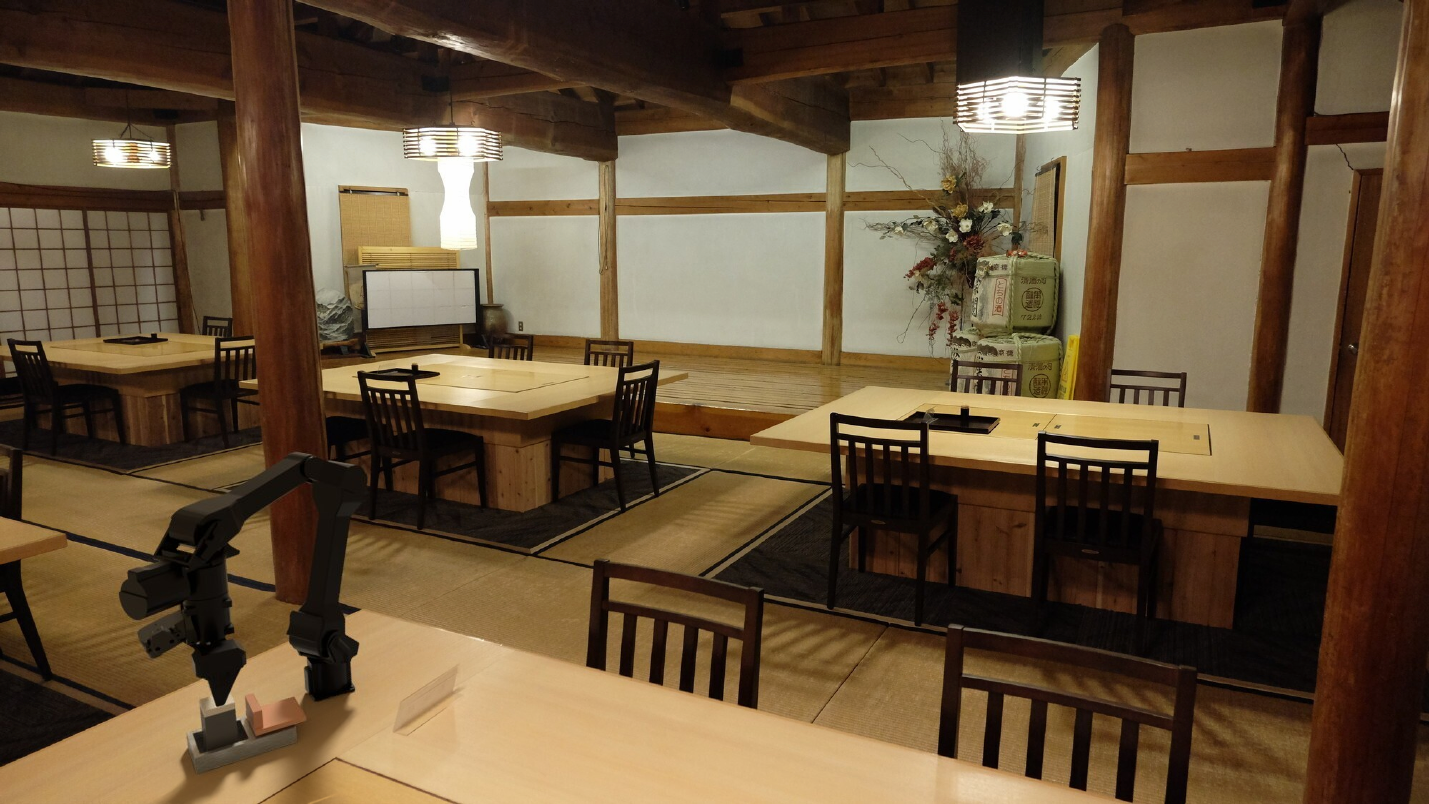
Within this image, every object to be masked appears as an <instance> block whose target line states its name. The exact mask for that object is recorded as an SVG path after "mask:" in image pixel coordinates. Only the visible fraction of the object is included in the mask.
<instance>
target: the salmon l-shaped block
mask: <svg viewBox="0 0 1429 804" xmlns="http://www.w3.org/2000/svg"><path fill="white" fill-rule="evenodd" d="M244 702H245V715H246V716H247V718H248V721H249V723H250V725H251V727H252V729H253V731H254V733H255V735H256V736H258V735H261V734H264V733H267V732H271V731H274V730H277V729H280V728H284V727H287V726H290V725H293V724H295V725H297V724H300V723H302V722H306V721H307V716H306V714H305V712H304V710H303V709H302V707H301V705H300V704H299V701H298V700H297V699H296V697H295V696H291V697H288V698H284V699H280V700H277V701H273V702H270V703H267V704H263V705H260V704H259V702H258V699H257V697H256V696H255V693H254V692H251V693H248V694H245V695H244Z"/></svg>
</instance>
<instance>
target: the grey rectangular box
mask: <svg viewBox="0 0 1429 804" xmlns="http://www.w3.org/2000/svg"><path fill="white" fill-rule="evenodd" d="M236 721H237V732H238V742H237V743H234V744H231V745H228V746H224V747H221V748H218V749H215V750H211V751H208V752H205V750H204V745H203V735H202V727H201V728H198V729H194V730H191V731H187V732H186V734H185V735H186V742H187V743H186V745H187V750H188V752H189V756H190V758H191V761H192V764H193V767H194V771H195V773H196V775H198V774H202V773H204V772H207V771H211V770H215V769H218V768H220V767H224V766H226V765H230V764H233V763H235V762H236V763H237V762H238V761H242V760H245V759H248V758H252V757H255V756H258V755H260V754H264V753H266V752H270V751H274V750H276V749H279V748H284V747H286V746H289V745H292V744H295V743H298V736H297V725H296V724H293V725H290V726H287V727H284V728H280V729H277V730H274V731H271V732H267V733H264V734H261V735H258V736H256V735H255V733H254V731H253V729H252V727H251V725H250V723H249V721H248V718H247V716H246V714H245V715H243V716H239V717H236Z"/></svg>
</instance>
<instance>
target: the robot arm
mask: <svg viewBox="0 0 1429 804" xmlns="http://www.w3.org/2000/svg"><path fill="white" fill-rule="evenodd" d="M368 479H369V476H368V473H367V472H366V471H365V469H364V468H363V467H362V466H360V465H357V464H351V463H345V462H341V461H334V460H326V459H322V458H320V457H318V456H317V455H316V454H315V455H314V454H309V453H303V452H298V451H294V452H291V453H288V454H287V455H285V456H284V457H283V459H282V460H280V461H278V462H277V463H275V464H273V465H271V466H270V467H268V468H266V469H264V470H263V471H262V472H260V473H258V474H257V475H255V476H253V477H252V478H250V479H248V480H247V481H245V482H243V483H241V484H240V485H238V486H236V487H235V488H233V489H231V490H230V491H228V492H226V493H224V494H221V495H219V496H214V497H210V498H205V499H200V500H198V501H194V502H193V503H190V504H188V505H185V506H183V507H180V508H179V509H178V510H176V511H175V512H174V513H173V514H171V517H170V521H169V525H168V528H167V529H166V530H165V533H164V534H163V536H162V538H161V541H159V543H158V546H157V547H156V549H155V551H154V553H153V555H152V559H153V560H155V561H156V562H154V563H151V564H148V565H144V566H138V567H133V568H130V569H129V570H127V573H126V574H127V578H126V579H125V580H124V581H123V582H122V583H121V586H120V591H119V592H118V599H119V603H120V605H121V607H122V610H123V611H124V613H125V614H126V615H127V616H128V617H129V619H130V618H131V619H132V620H134V621H141V620H144V619H147V618H150V617H152V616H154V615H157V614H160V613H162V612H165V611H167V610H169V609H172V608H175V607H177V606H178V607H179V610H176V611H174V612H171V613H169V614H168V613H167V614H166V615H164V616H162V617H160V618H159V619H156V620H154V621H153V622H150V623H149V624H147V625H144V626H143V627H142V628H141V627H140V629H139V630H138V631H137V632H136V634H137V638H138V641H139V642H140V644H141V646H142V647H143V648H144V650H145V652H146V654H147V655H148V656H149V659H151V660H154V659H157V658H160V657H161V656H163V654H165V653H167V652H169V651H170V650H172V649H174V648H176V647H177V646H179V645H181V644H182V643H183V644H185V645H187V646H189V647H191V648H192V649H193V650H194V651H193V652H192V653H191V655H190V656H191V666H192V670H193V673H194V675H195V677H196V678H198V679H203V680H205V681H207V684H208V688H209V690H210V693H211V696H213V699H214V702H215V705H216V707H219V706H223V705H225V703H226V701H227V698H228V696H229V694H230V693H231V692H232V688H233V687H234V684H235V682H236V679H237V677H238V676H239V674H240V672H241V670H242V669H243V668H244V667H245V666H247V652H246V650H245V647H244V646H243V644H242V642H240V641H238V640H237V639H235V638H230V639H227V637H226V636H229V635H233V634H236V633H235V626H234V623H233V622H232V616H231V608H233V600H232V598H231V596H230V593H229V579H228V569H227V559H230V558H233V557H236V556H238V555H240V553H241V550H240V549H238V548H236V547H234V546H232V545H231V544H230V542H231V541H232V540H233V539H234V538H235V537H236V536H238V535H239V534H240V532H241V530H242V528H243V526H244V525H245V522H246V521H248V520H249V519H251V517H252V516H254V515H256V514H258V513H259V512H260V511H262V510H264V509H265V508H267V507H269V506H270V505H272V504H273V503H274V502H276V501H277V500H279V499H281V498H282V497H284V496H285V495H287V494H289V493H290V492H292V491H294V490H295V489H297V488H298V487H300V486H301V485H302V484H304V483H308V484H311V497H312V500H313V502H314V504H315V507H316V510H317V513H318V520H317V525H316V533H315V538H314V539H315V540H314V546H313V553H312V561H311V567H310V573H309V581H308V587H307V593H306V594H307V595H306V600H305V601H304V602H303V604H301V606H300V608H299V609H297V610H295V609H292V610H291V612H290V613H289V625H288V628H287V631H286V633H285V634H286V635H287V636H288V642H289V645H291V647H292V648H293V649H294V650H296V651H297V654H298V655H299V657H305V658H306V665H305V666H304V667H303V673H304V674H303V675H304V689H305V690H306V692H307V694H308V695H309V696H311V697H312V698H313V700H314V702H316V703H317V702H321V701H324V700H327V699H331V698H334V697H338V696H341V695H344V694H348V693H351V692H354V691H356V686H355V684H353V681H352V679H353V677H352V666H351V662H352V659H353V658H355V657H356V656H357V655H358V652H359V647H360V642H359V641H358V640H356V639H354V638H352V637H350V636H349V635H347V634H346V616H345V614H344V612H343V609H342V606H341V604H340V594H341V588H342V587H341V586H342V581H343V573H344V566H345V560H346V554H347V553H346V552H347V546H348V545H347V544H348V538H349V532H350V525H351V518H352V517H353V515H354V513H355V512H356V511H357V510H358V509H359V507H360V506H361V504H363V501H364V498H365V494H366V490H367V488H368V487H367V486H368V482H369V481H368ZM179 547H185V548H189V549H193V550H194V551H193V552H189V551H185V550H181V549H178V548H179Z"/></svg>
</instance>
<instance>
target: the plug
mask: <svg viewBox="0 0 1429 804" xmlns="http://www.w3.org/2000/svg"><path fill="white" fill-rule="evenodd" d="M198 702H199V714H200V723H201V728H202V735H203V745H204V750H205V752H208V751H211V750H215V749H218V748H221V747H224V746H228V745H231V744H234V743H237V742H238V732H237V721H236V718H237V712H236V711H237V710H236V701H235V700H234V698H233V695H232V693H231V692H230V694H229V696H228V698H227V701H226V703H225V705H223V706H219V707H216V705H215V702H214V699H213V696H212V695H210V696H206V697H203V698H199V700H198Z"/></svg>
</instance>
